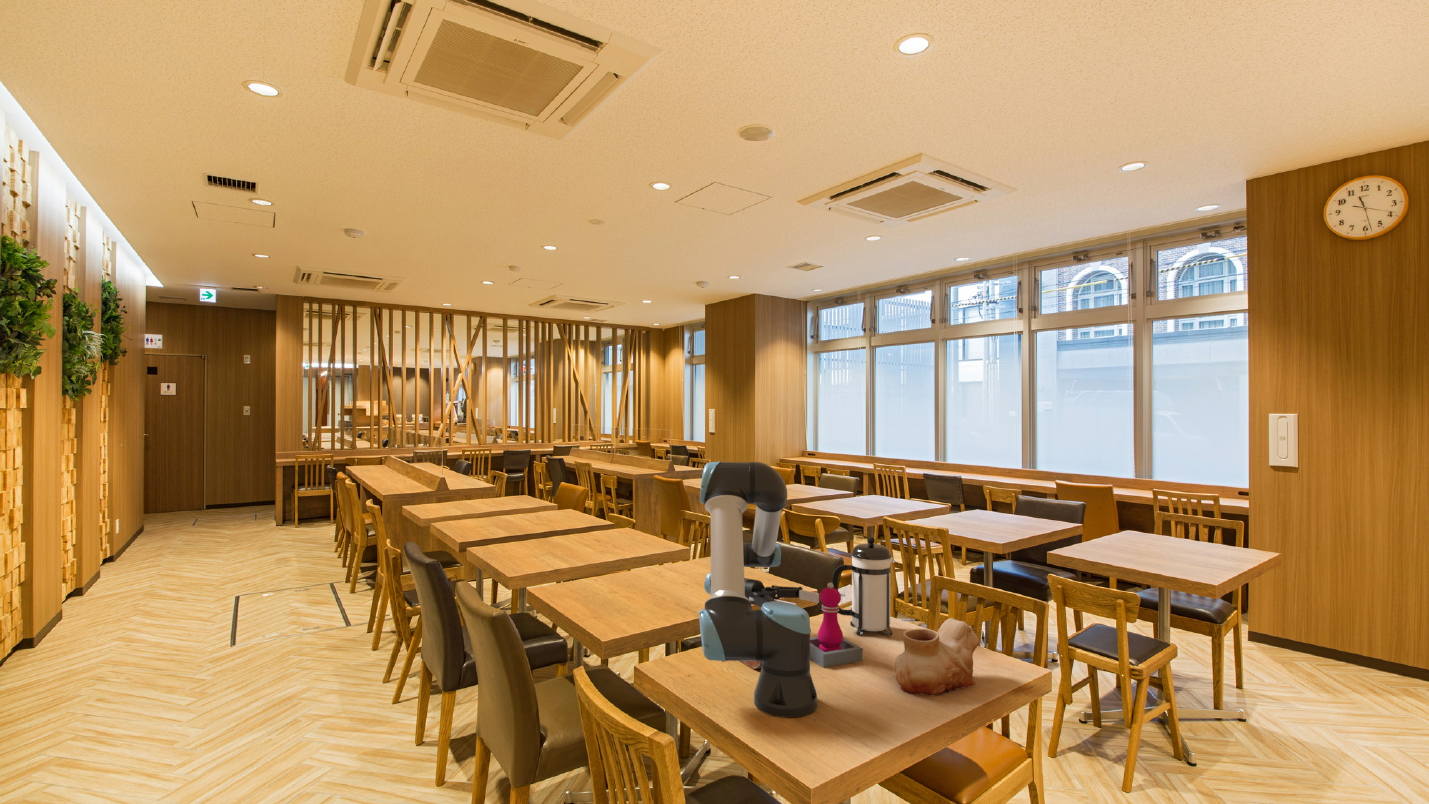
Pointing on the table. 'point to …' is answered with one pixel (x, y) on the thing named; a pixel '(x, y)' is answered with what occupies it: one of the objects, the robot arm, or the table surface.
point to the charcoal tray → (835, 653)
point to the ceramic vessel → (937, 659)
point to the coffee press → (869, 587)
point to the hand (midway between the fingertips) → (807, 603)
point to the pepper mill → (830, 620)
